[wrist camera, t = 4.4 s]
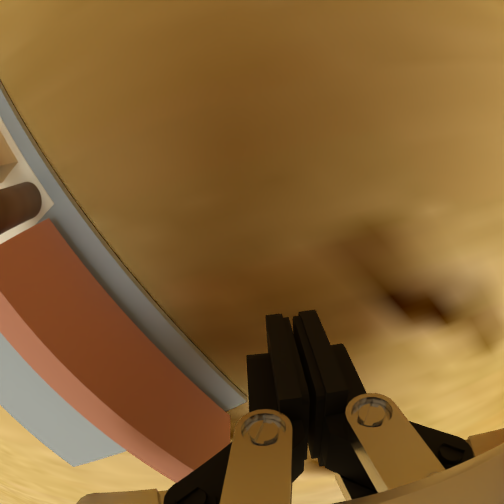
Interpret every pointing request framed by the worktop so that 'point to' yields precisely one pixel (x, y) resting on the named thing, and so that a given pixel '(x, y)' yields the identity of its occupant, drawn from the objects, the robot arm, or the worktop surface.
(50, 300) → the bar
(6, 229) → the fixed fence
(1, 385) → the card
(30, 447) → the worktop surface
